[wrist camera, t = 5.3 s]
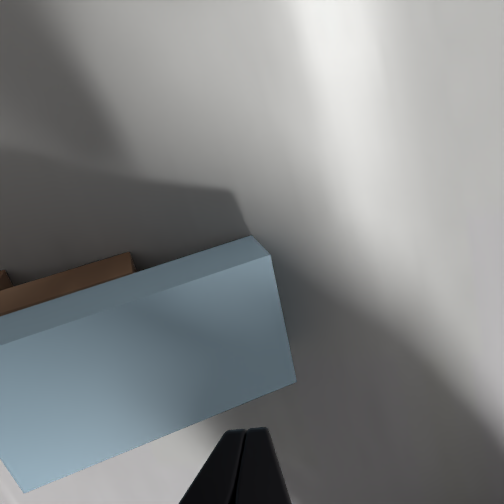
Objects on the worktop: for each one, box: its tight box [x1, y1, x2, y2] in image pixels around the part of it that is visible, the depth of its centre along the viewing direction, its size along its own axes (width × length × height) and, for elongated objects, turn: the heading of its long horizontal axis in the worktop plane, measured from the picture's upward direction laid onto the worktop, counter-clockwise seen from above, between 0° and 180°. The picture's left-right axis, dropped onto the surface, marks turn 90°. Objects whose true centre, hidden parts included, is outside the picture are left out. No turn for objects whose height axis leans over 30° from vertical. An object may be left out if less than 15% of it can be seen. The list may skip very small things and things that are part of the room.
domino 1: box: [0, 252, 137, 316], centre depth 12 cm, size 2×4×8 cm
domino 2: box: [0, 235, 297, 493], centre depth 12 cm, size 2×4×8 cm
